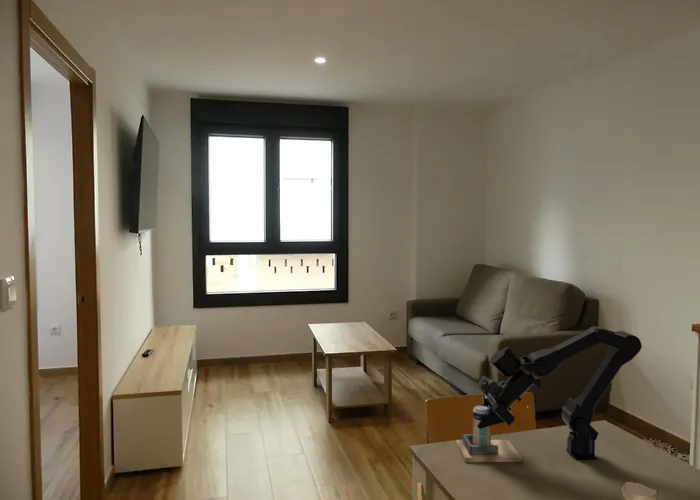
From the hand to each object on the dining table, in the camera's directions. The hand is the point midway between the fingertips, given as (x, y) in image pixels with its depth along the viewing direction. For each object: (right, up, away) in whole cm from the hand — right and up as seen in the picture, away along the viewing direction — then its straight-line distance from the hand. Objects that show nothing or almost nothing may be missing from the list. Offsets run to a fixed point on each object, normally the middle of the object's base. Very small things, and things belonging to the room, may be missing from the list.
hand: (476, 424), depth 151 cm
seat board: (+3, -8, 0) cm, 9 cm away
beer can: (+1, -7, 0) cm, 7 cm away
